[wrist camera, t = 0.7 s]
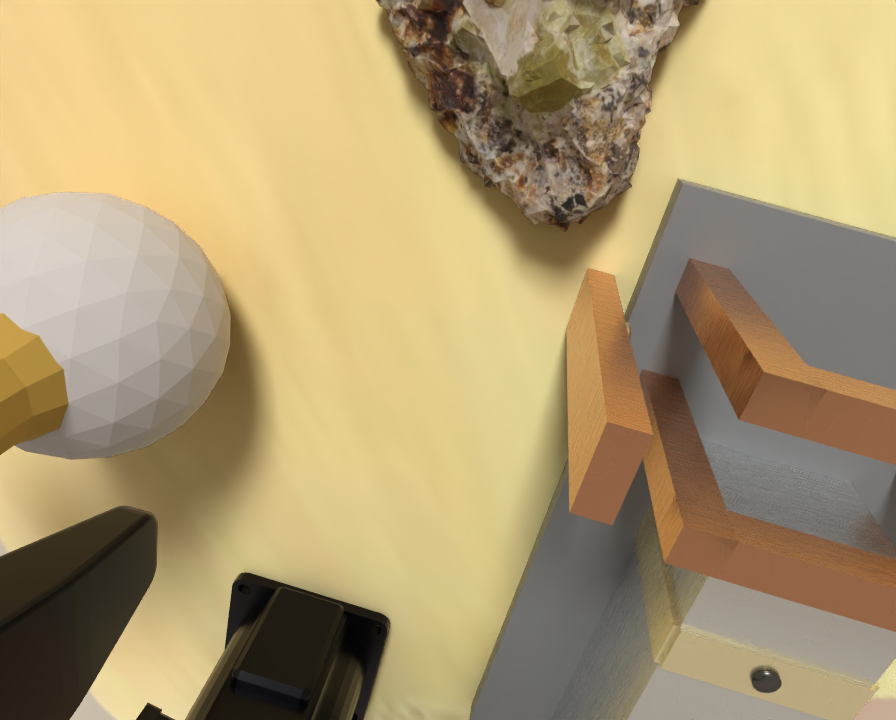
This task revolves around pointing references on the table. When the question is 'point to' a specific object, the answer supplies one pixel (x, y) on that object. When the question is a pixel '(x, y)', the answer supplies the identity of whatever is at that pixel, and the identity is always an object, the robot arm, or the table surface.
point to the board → (704, 411)
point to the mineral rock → (540, 91)
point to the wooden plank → (602, 402)
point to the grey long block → (734, 620)
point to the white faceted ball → (103, 326)
